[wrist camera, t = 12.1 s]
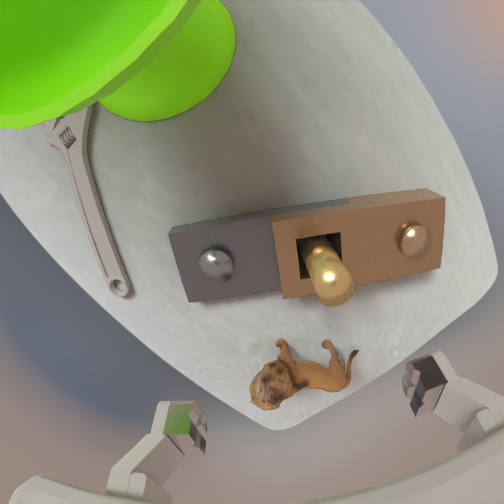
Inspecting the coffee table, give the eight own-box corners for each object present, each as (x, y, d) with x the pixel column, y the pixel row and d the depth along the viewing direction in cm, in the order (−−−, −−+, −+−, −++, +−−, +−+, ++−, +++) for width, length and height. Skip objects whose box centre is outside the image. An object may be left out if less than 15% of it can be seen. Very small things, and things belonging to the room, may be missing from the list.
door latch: (172, 227, 30) (159, 245, 26) (425, 188, 28) (450, 200, 24) (191, 293, 33) (184, 318, 29) (423, 253, 32) (444, 271, 27)
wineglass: (145, 154, 27) (27, 199, 11) (62, 60, 22) (-61, 44, 5) (270, 49, 23) (302, -50, 7) (171, -39, 18) (113, -136, 1)
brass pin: (295, 229, 30) (315, 275, 21) (324, 225, 30) (354, 268, 21) (299, 255, 32) (318, 309, 22) (326, 251, 31) (354, 302, 22)
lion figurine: (249, 367, 38) (250, 420, 30) (248, 338, 36) (249, 393, 28) (353, 360, 38) (371, 408, 30) (361, 331, 36) (383, 380, 28)
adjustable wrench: (135, 289, 34) (131, 297, 32) (93, 292, 34) (87, 299, 32) (92, 78, 24) (84, 77, 22) (47, 97, 24) (38, 97, 22)
